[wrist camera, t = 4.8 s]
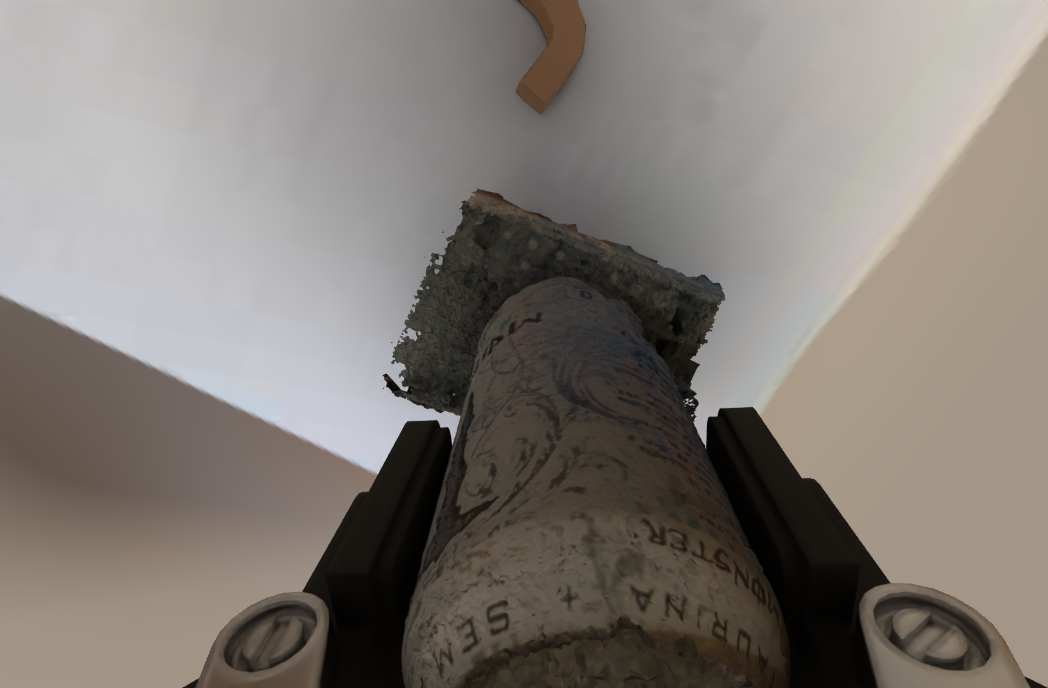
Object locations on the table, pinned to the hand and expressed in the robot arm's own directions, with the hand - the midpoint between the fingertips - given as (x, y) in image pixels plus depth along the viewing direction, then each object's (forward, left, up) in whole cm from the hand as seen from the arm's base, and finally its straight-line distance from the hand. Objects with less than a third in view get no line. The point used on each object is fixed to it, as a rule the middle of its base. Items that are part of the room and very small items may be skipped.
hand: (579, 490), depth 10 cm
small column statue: (-1, -1, -7) cm, 7 cm away
